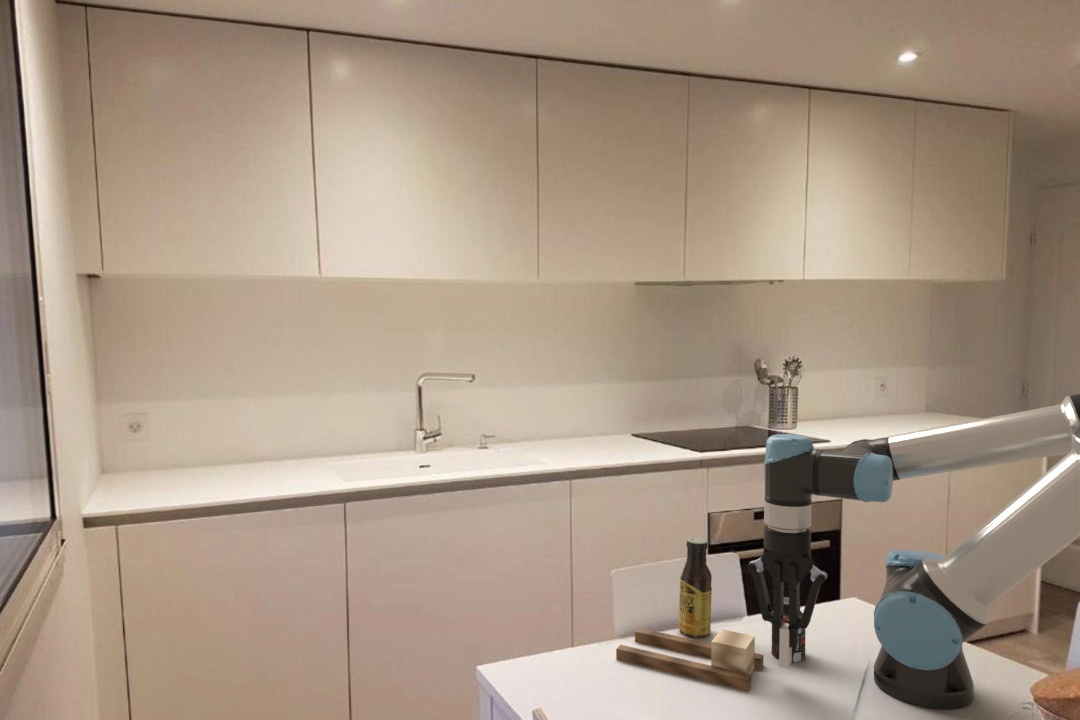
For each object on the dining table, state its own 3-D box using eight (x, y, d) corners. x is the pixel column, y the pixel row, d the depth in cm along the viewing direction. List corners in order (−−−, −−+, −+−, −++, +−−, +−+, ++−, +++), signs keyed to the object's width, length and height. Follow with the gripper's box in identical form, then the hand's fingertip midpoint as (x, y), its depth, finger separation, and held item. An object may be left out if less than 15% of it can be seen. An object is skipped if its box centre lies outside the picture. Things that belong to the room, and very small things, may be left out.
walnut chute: (764, 669, 131) (764, 653, 131) (747, 699, 120) (747, 681, 120) (640, 641, 143) (640, 626, 143) (615, 666, 132) (615, 649, 132)
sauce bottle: (673, 633, 147) (673, 536, 146) (700, 629, 149) (701, 533, 148) (689, 646, 141) (689, 545, 140) (717, 642, 142) (718, 542, 142)
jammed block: (754, 669, 129) (754, 636, 128) (745, 683, 123) (746, 648, 123) (721, 661, 132) (721, 629, 131) (711, 675, 126) (711, 641, 126)
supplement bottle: (807, 669, 131) (808, 607, 130) (773, 666, 132) (773, 605, 132) (802, 655, 137) (803, 595, 136) (769, 652, 138) (770, 593, 137)
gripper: (832, 526, 122) (829, 664, 123) (753, 516, 128) (752, 647, 129) (824, 537, 115) (822, 682, 116) (742, 526, 122) (741, 664, 123)
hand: (785, 664), depth 123 cm, fingers closed
